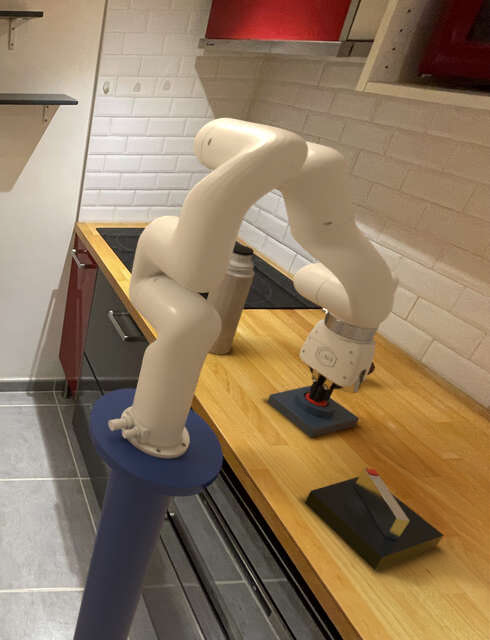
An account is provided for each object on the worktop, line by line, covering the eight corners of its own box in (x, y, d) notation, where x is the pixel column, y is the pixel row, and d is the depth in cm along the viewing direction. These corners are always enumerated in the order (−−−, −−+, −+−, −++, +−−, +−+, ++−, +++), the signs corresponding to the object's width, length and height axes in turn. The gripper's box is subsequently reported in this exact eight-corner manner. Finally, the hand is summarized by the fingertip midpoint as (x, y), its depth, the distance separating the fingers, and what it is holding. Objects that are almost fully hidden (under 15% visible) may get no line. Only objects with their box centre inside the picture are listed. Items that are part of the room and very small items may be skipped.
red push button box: (310, 437, 89) (317, 422, 87) (267, 402, 98) (272, 387, 96) (355, 426, 92) (362, 411, 90) (309, 392, 101) (315, 378, 99)
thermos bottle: (201, 331, 122) (227, 238, 110) (233, 344, 117) (265, 247, 105) (191, 344, 116) (218, 247, 105) (224, 358, 111) (257, 258, 100)
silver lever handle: (397, 540, 68) (410, 520, 66) (384, 537, 68) (397, 517, 66) (364, 488, 75) (375, 468, 74) (353, 486, 76) (364, 466, 74)
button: (315, 413, 92) (318, 406, 91) (299, 400, 95) (301, 394, 94) (328, 409, 93) (331, 403, 92) (312, 397, 96) (314, 391, 95)
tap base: (374, 569, 66) (382, 557, 65) (304, 502, 76) (310, 490, 75) (435, 547, 70) (444, 535, 68) (360, 485, 79) (367, 473, 78)
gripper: (298, 307, 91) (271, 377, 99) (377, 352, 78) (340, 429, 86) (326, 303, 93) (298, 372, 101) (408, 346, 80) (369, 422, 87)
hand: (317, 398), depth 93 cm, fingers closed
